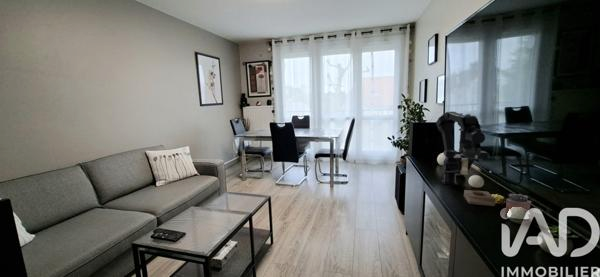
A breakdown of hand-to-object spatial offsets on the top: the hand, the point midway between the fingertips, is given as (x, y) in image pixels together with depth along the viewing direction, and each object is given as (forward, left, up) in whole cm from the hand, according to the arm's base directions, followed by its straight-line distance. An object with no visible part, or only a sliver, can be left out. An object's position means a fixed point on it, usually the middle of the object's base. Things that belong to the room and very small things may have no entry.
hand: (464, 170), depth 131 cm
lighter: (+26, +13, -12) cm, 31 cm away
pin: (0, 0, -2) cm, 2 cm away
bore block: (+11, +4, -12) cm, 17 cm away
